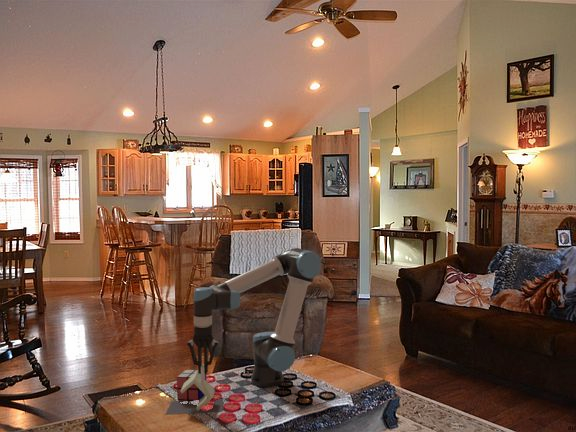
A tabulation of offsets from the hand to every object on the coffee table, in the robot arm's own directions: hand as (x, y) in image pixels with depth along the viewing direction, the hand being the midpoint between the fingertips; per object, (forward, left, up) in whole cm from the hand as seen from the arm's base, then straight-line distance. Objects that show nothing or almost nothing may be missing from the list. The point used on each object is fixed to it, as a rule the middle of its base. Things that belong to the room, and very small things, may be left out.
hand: (202, 381), depth 217 cm
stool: (-1, 0, -8) cm, 8 cm away
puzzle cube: (+7, -12, -11) cm, 18 cm away
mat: (+3, 0, -11) cm, 12 cm away
